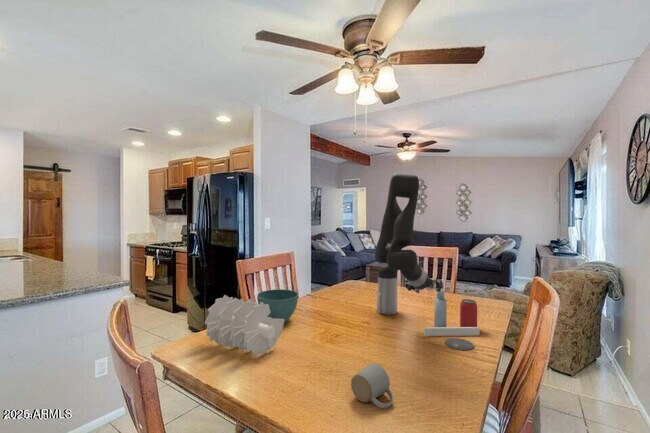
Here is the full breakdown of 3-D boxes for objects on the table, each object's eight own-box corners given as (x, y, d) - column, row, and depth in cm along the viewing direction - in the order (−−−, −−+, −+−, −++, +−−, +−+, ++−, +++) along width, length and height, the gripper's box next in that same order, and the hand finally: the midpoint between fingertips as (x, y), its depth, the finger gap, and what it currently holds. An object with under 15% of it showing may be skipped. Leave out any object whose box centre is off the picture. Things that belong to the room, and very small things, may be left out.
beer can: (479, 332, 132) (479, 303, 131) (461, 331, 133) (462, 302, 133) (474, 327, 138) (475, 299, 138) (458, 326, 139) (458, 298, 139)
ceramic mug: (348, 397, 86) (349, 368, 86) (367, 385, 92) (368, 358, 92) (381, 415, 79) (382, 384, 78) (399, 401, 85) (400, 372, 84)
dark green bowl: (304, 317, 151) (304, 291, 151) (287, 331, 134) (287, 301, 133) (269, 313, 157) (269, 288, 156) (249, 325, 139) (249, 297, 139)
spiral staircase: (261, 372, 107) (209, 352, 120) (290, 334, 121) (241, 319, 133) (246, 331, 100) (192, 314, 112) (279, 295, 113) (227, 283, 126)
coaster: (451, 350, 115) (451, 349, 115) (440, 339, 125) (440, 338, 125) (479, 350, 115) (479, 349, 115) (466, 339, 125) (466, 337, 125)
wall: (424, 335, 128) (424, 328, 128) (423, 334, 129) (423, 327, 129) (479, 335, 129) (479, 327, 129) (478, 334, 130) (478, 326, 130)
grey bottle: (436, 329, 136) (437, 291, 135) (432, 325, 140) (433, 288, 140) (448, 329, 136) (448, 291, 136) (443, 325, 141) (444, 288, 140)
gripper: (434, 265, 124) (445, 280, 136) (399, 269, 131) (411, 283, 143) (435, 284, 120) (446, 298, 132) (399, 287, 127) (412, 300, 139)
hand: (428, 290), depth 137 cm, fingers open, 8 cm apart
